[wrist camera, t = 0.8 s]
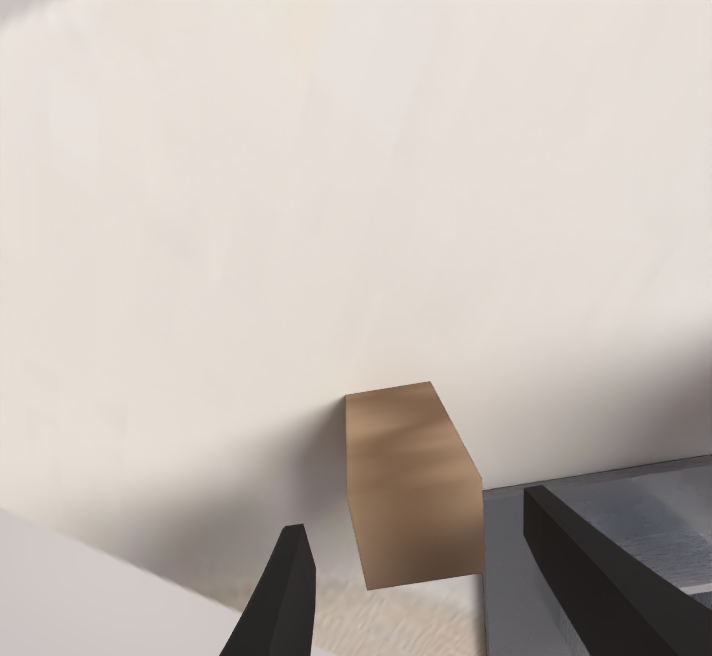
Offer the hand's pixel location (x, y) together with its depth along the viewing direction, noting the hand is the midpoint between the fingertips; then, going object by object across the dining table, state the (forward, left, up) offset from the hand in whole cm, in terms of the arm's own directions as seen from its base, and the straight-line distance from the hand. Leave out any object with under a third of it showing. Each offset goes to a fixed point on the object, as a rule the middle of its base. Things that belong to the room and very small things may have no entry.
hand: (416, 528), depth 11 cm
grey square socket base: (-12, +13, -6) cm, 19 cm away
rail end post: (0, 0, -6) cm, 6 cm away
